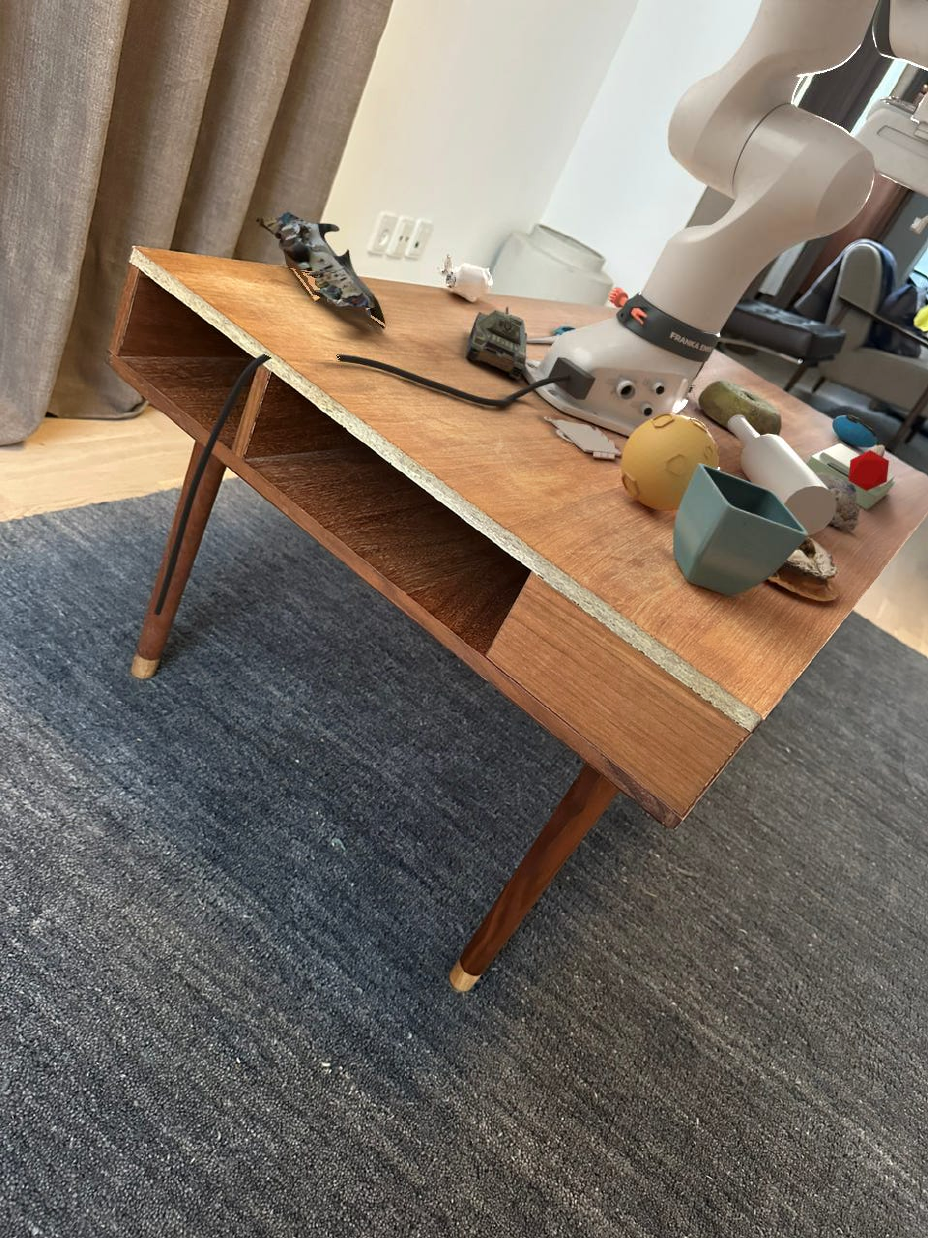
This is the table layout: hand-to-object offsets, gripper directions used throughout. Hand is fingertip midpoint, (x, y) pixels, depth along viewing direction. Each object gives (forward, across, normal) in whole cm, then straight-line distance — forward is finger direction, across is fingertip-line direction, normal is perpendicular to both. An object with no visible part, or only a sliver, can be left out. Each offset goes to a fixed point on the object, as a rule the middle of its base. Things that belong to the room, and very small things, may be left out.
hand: (885, 217), depth 135 cm
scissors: (+34, -26, -18) cm, 46 cm away
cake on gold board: (+37, +22, -64) cm, 77 cm away
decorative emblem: (+34, 0, -58) cm, 67 cm away
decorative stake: (+30, +18, +10) cm, 36 cm away
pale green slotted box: (+34, +18, -6) cm, 39 cm away
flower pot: (+34, +18, -75) cm, 84 cm away
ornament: (+31, +9, +21) cm, 39 cm away
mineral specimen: (+34, +19, -31) cm, 50 cm away
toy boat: (+39, -40, -64) cm, 85 cm away
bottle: (+31, +20, -46) cm, 59 cm away
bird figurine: (+31, -42, -41) cm, 67 cm away
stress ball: (+34, +8, -66) cm, 75 cm away
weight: (+34, 0, -13) cm, 37 cm away
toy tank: (+34, -23, -52) cm, 66 cm away
